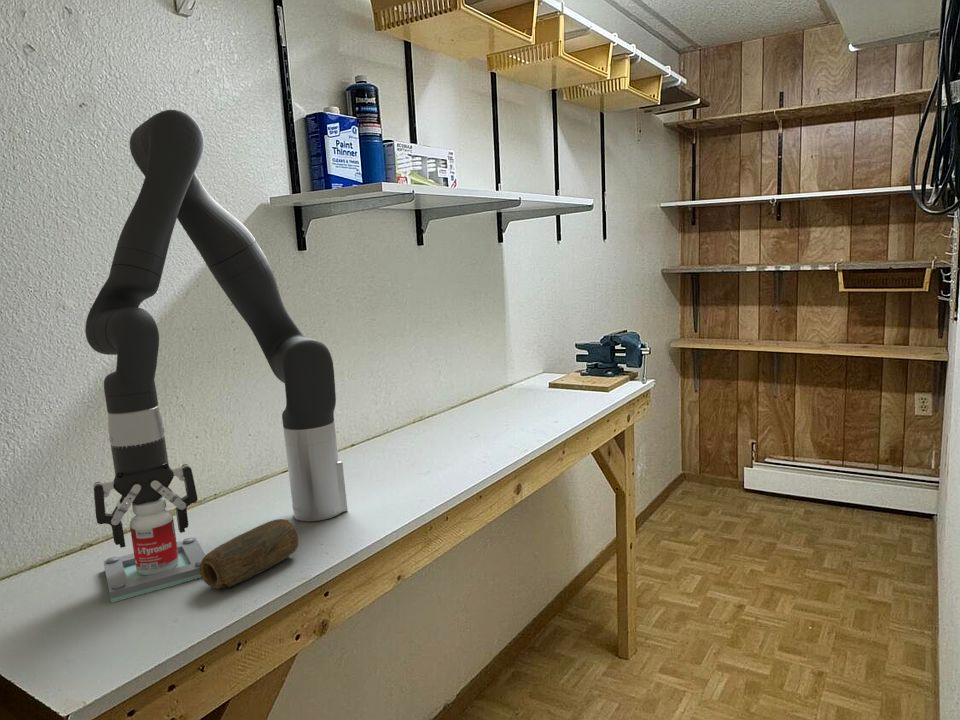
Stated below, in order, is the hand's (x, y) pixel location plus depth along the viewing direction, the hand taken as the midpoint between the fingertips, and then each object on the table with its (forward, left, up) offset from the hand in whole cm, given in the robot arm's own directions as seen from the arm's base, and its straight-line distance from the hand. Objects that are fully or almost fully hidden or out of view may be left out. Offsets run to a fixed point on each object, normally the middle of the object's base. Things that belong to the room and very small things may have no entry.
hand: (152, 538), depth 110 cm
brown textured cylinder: (-12, +11, -6) cm, 17 cm away
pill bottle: (0, 0, -5) cm, 5 cm away
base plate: (0, 0, -6) cm, 6 cm away
